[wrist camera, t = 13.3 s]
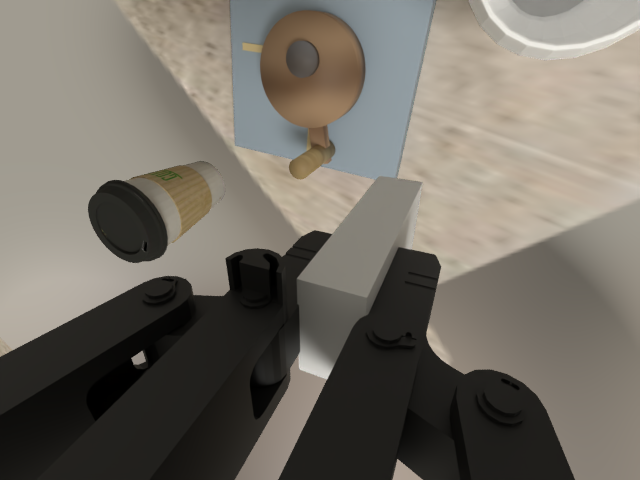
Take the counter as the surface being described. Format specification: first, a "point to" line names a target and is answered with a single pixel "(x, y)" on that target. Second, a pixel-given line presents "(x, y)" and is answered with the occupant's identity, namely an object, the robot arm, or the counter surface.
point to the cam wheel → (312, 78)
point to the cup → (556, 25)
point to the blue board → (377, 94)
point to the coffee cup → (153, 209)
